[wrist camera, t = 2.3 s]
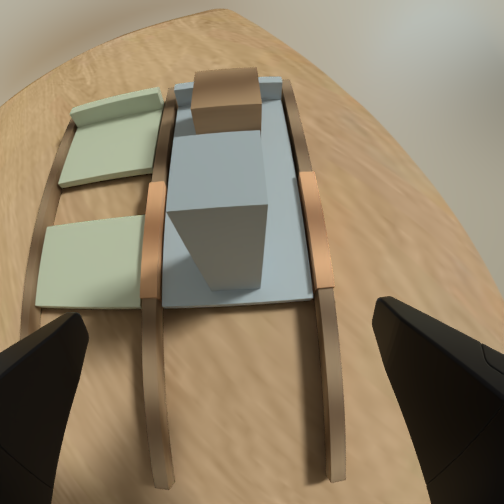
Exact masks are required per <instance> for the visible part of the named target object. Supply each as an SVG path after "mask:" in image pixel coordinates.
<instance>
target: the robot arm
mask: <svg viewBox="0 0 504 504" xmlns="http://www.w3.org/2000/svg"><path fill="white" fill-rule="evenodd" d="M372 327H373V331H374V334H375V337H376V340H377V344H378V347H379V350H380V354H381V357H382V361H383V364H384V367H385V370H386V373H387V376H388V378H389V380H390V383H391V385H392V388H393V390H394V393H395V396H396V398H397V401H398V403H399V406H400V409H401V411H402V414H403V417H404V419H405V422H406V425H407V428H408V431H409V433H410V436H411V439H412V442H413V445H414V448H415V451H416V454H417V457H418V460H419V463H420V466H421V470H422V473H423V476H424V479H425V483H426V487H427V490H428V494H429V497H430V501H431V504H504V354H502V353H500V352H498V351H496V350H494V349H492V348H490V347H488V346H486V345H484V344H481V343H480V342H479V341H477V340H475V339H473V338H471V337H469V336H467V335H465V334H464V333H462V332H460V331H458V330H456V329H454V328H452V327H450V326H448V325H446V324H444V323H442V322H440V321H439V320H437V319H435V318H433V317H431V316H429V315H427V314H425V313H423V312H421V311H419V310H417V309H415V308H413V307H411V306H409V305H407V304H405V303H403V302H401V301H399V300H397V299H395V298H393V297H391V296H387V297H380V298H378V299H377V301H376V305H375V310H374V314H373V319H372ZM88 340H89V335H88V332H87V329H86V327H85V325H84V322H83V320H82V317H81V315H80V314H79V313H77V312H67V313H65V314H63V315H62V316H60V317H58V318H57V319H55V320H53V321H52V322H50V323H48V324H46V325H45V326H43V327H41V328H40V329H38V330H36V331H35V332H33V333H31V334H30V335H28V336H27V337H25V338H23V339H22V340H20V341H18V342H17V343H15V344H14V345H12V346H10V347H9V348H7V349H5V350H4V351H2V352H1V353H0V504H51V501H52V494H53V487H54V481H55V475H56V469H57V464H58V459H59V455H60V450H61V445H62V441H63V437H64V433H65V429H66V425H67V421H68V417H69V414H70V410H71V406H72V403H73V399H74V396H75V393H76V389H77V386H78V383H79V379H80V375H81V371H82V366H83V362H84V357H85V353H86V349H87V345H88Z"/></svg>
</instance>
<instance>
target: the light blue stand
mask: <svg viewBox="0 0 504 504" xmlns="http://www.w3.org/2000/svg"><path fill="white" fill-rule="evenodd" d="M258 80H259V87H260V93H261V100H262V122H261V135H260V130H254V131H236V132H222V133H210V134H200V135H196V131H195V127H194V123H193V118H192V114H191V100H192V92H193V85H194V82H189V83H181V84H175V88H174V92H175V96H176V100H177V104H178V111H177V118H176V125H175V132H174V139H173V147H172V155H171V163H170V172H169V182H168V192H167V204H166V216H165V231H164V249H163V275H162V307H164V308H165V309H167V308H199V307H221V306H240V305H256V304H271V303H284V302H297V301H308V300H312V299H313V290H312V281H311V273H310V265H309V258H308V251H307V243H306V236H305V229H304V223H303V216H302V210H301V204H300V197H299V191H298V185H297V180H296V174H295V168H294V163H293V157H292V152H291V146H290V141H289V136H288V131H287V126H286V121H285V116H284V111H283V107H282V102H281V94H282V78H281V77H258Z"/></svg>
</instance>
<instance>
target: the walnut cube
mask: <svg viewBox="0 0 504 504" xmlns="http://www.w3.org/2000/svg"><path fill="white" fill-rule="evenodd" d="M191 114H192V118H193V123H194V127H195V131H196V135H200V134H210V133H222V132H236V131H254V130H260V135H261V122H262V100H261V93H260V87H259V80H258V73H257V67H253V68H233V69H219V70H209V71H199V72H195V77H194V85H193V92H192V100H191Z"/></svg>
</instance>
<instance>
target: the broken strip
mask: <svg viewBox="0 0 504 504" xmlns="http://www.w3.org/2000/svg"><path fill="white" fill-rule="evenodd" d="M164 107H165V105H164V101H163V98H162V95H161V91H160V88H159V87H156V88H150V89H145V90H140V91H135V92H131V93H126V94H122V95H117V96H113V97H109V98H105V99H102V100H98V101H94V102H91V103H87V104H84V105H80V106H77V107H74V108H72V110H71V112H70V116H71V117H72V119H73V120H74V122H75V124H76V125H77V127H78V128H77V131H76V133H75V136H74V138H73V141H72V144H71V146H70V149H69V152H68V155H67V158H66V161H65V164H64V167H63V170H62V173H61V176H60V179H59V183H58V184H59V186H60V187H61V188H66V187H71V186H76V185H81V184H86V183H92V182H97V181H103V180H109V179H115V178H121V177H128V176H135V175H142V174H149V173H153V168H154V162H155V155H156V149H157V143H158V137H159V132H160V127H161V121H162V116H163V111H164ZM144 224H145V215H137V216H128V217H119V218H110V219H102V220H93V221H86V222H78V223H70V224H63V225H56V226H49V227H47V229H46V234H45V239H44V244H43V250H42V255H41V262H40V268H39V275H38V283H37V292H36V302H35V306H38V307H42V308H71V309H142V299H141V298H140V279H141V261H142V247H143V235H144Z"/></svg>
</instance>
